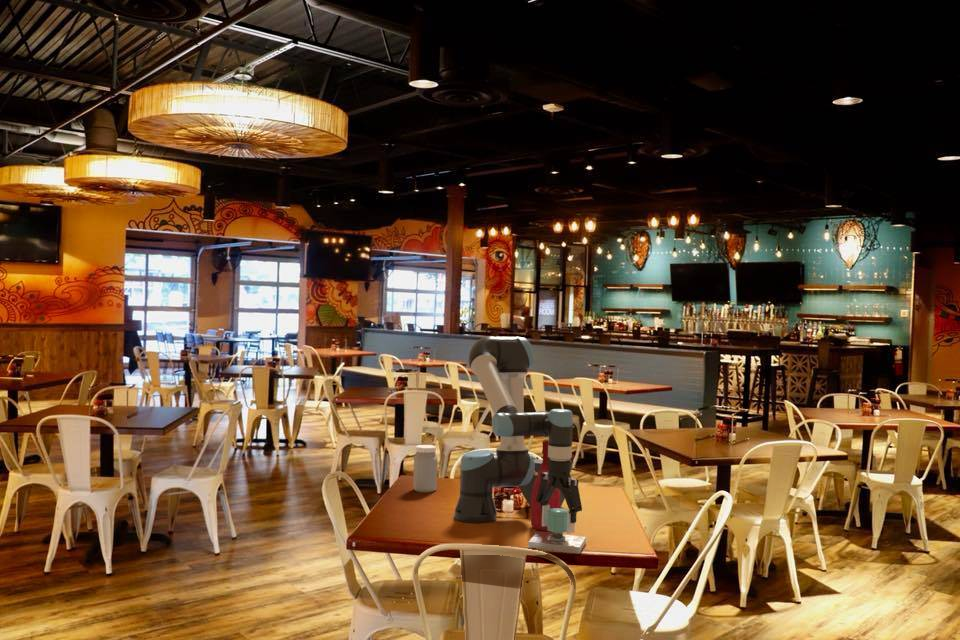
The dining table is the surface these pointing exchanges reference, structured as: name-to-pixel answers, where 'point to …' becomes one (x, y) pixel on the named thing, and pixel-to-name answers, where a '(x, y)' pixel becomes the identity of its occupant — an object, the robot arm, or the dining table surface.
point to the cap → (557, 520)
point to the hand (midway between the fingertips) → (557, 529)
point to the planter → (528, 488)
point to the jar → (425, 469)
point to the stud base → (557, 542)
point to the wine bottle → (535, 506)
